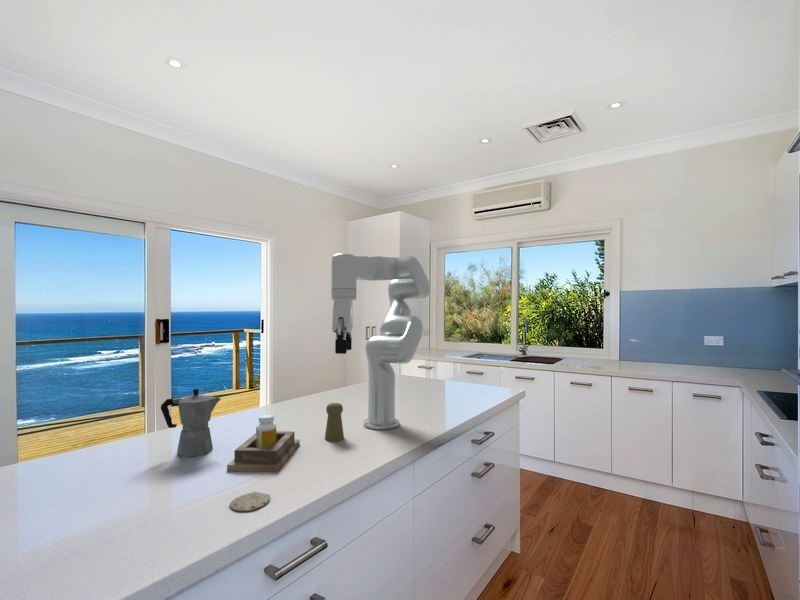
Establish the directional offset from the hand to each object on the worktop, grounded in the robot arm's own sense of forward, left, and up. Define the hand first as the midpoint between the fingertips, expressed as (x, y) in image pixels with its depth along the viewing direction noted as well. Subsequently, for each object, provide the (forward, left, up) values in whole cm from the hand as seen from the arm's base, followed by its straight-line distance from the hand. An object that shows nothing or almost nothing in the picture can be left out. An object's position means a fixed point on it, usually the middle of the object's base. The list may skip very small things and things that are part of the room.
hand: (343, 351), depth 120 cm
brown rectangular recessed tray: (+9, -20, -28) cm, 36 cm away
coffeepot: (+6, -43, -28) cm, 52 cm away
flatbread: (+35, -14, -29) cm, 47 cm away
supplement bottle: (+9, -20, -27) cm, 35 cm away
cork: (-7, -4, -28) cm, 30 cm away
